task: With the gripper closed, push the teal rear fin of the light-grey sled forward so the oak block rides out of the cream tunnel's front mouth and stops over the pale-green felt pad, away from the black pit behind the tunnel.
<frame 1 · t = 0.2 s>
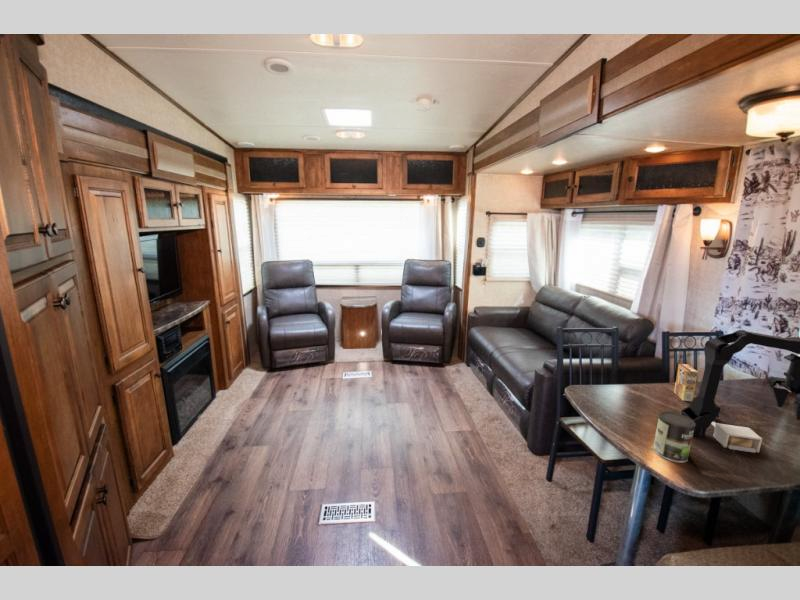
hand: (788, 413, 124), 14 cm above the table, fingers open, 9 cm apart
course: (734, 446, 128), on the table
candy box: (682, 397, 165), on the table
sled: (723, 428, 134), point 3 cm above the table, slide at 0.0 cm, touching block
block: (734, 443, 127), point 1 cm above the table, touching sled
coffee can: (669, 453, 124), on the table
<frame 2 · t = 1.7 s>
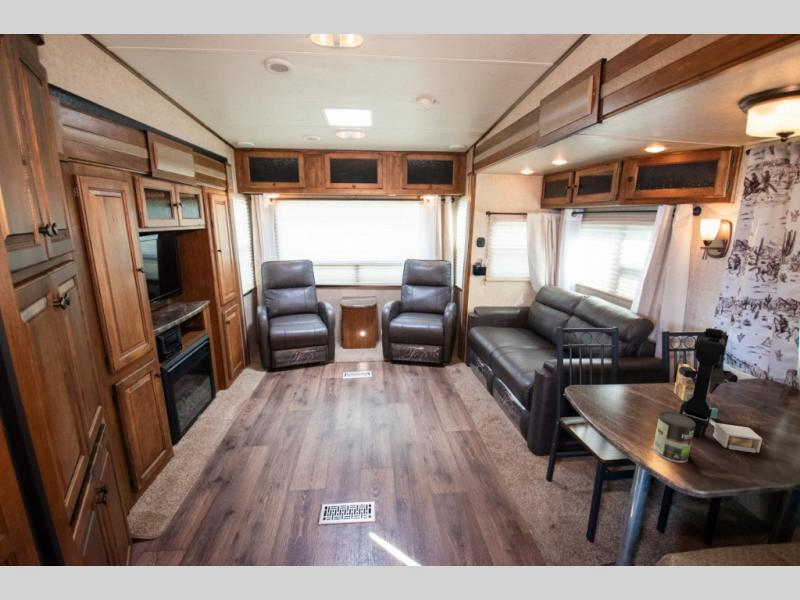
hand: (703, 392, 148), 10 cm above the table, fingers open, 5 cm apart
nothing on the table moved.
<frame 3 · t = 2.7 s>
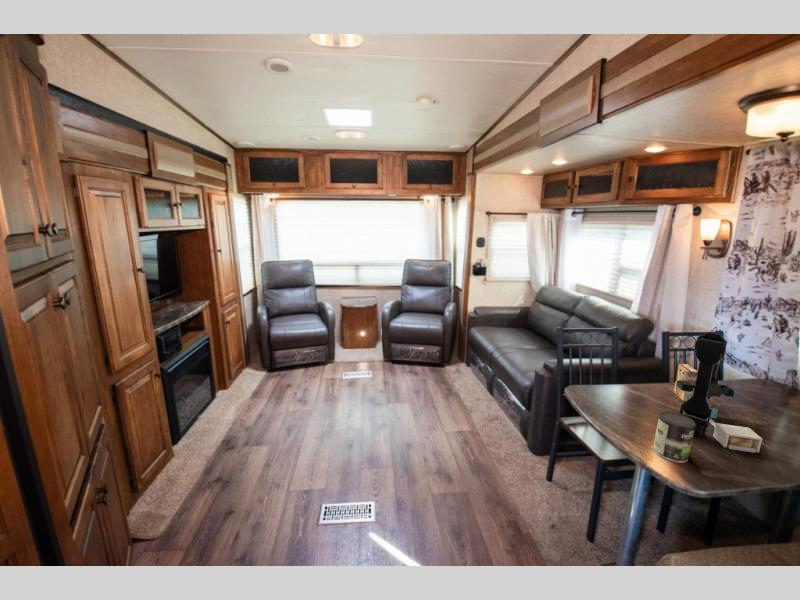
hand: (700, 405, 150), 4 cm above the table, fingers closed
nothing on the table moved.
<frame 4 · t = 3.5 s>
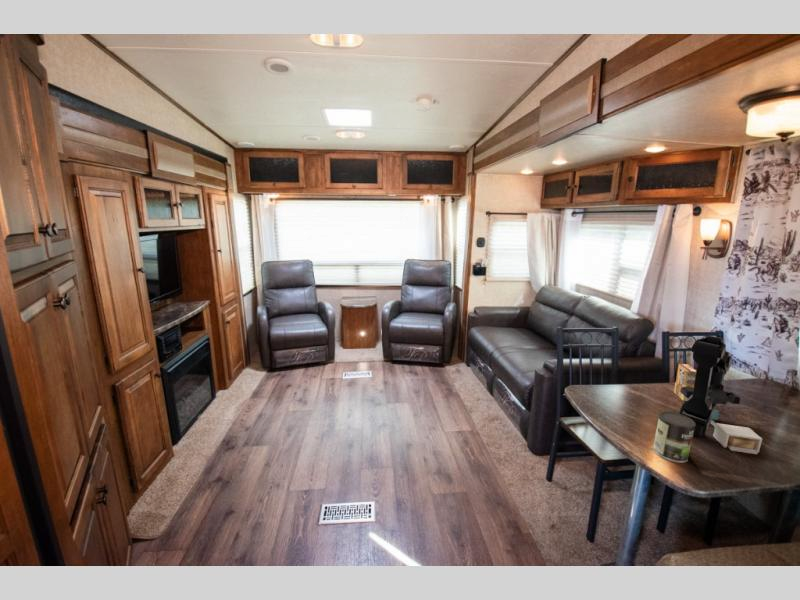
hand: (705, 413, 146), 2 cm above the table, fingers closed, pressing on sled
sled: (725, 429, 133), point 3 cm above the table, slide at 0.9 cm, touching block, gripper
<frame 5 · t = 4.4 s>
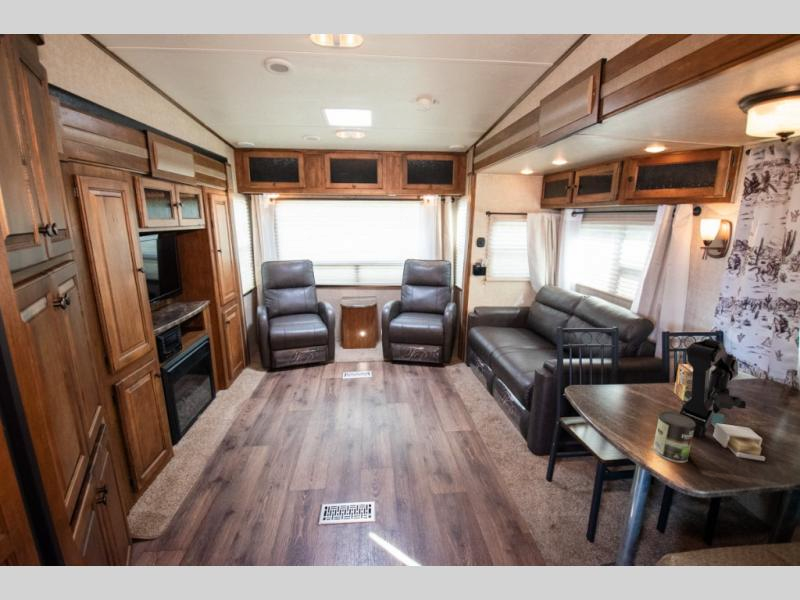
hand: (710, 417, 143), 2 cm above the table, fingers closed
sled: (730, 434, 130), point 3 cm above the table, slide at 4.6 cm, touching block, gripper
block: (742, 451, 123), point 1 cm above the table, touching sled
everything else where it was.
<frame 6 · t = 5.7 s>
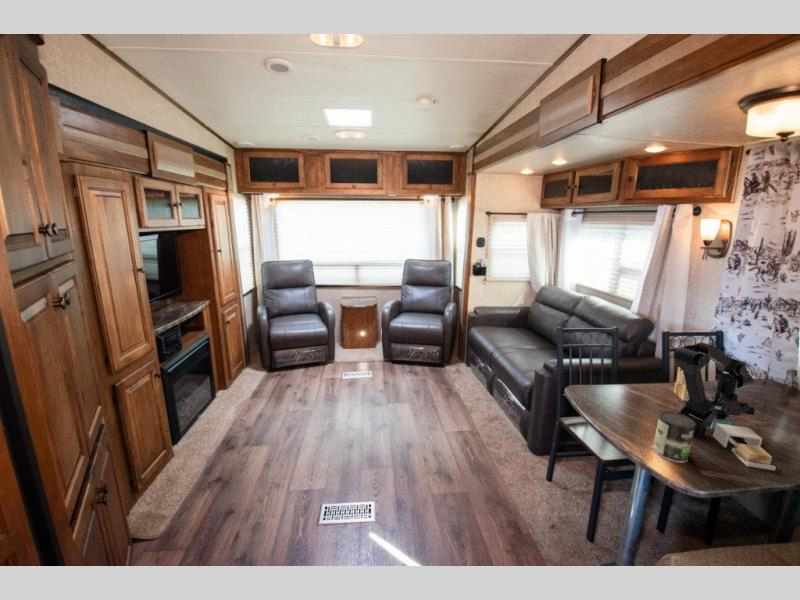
hand: (717, 424, 138), 2 cm above the table, fingers closed, pressing on sled
sled: (739, 442, 125), point 3 cm above the table, slide at 9.5 cm, touching block, gripper
block: (752, 460, 119), point 1 cm above the table, touching sled
everything else where it was.
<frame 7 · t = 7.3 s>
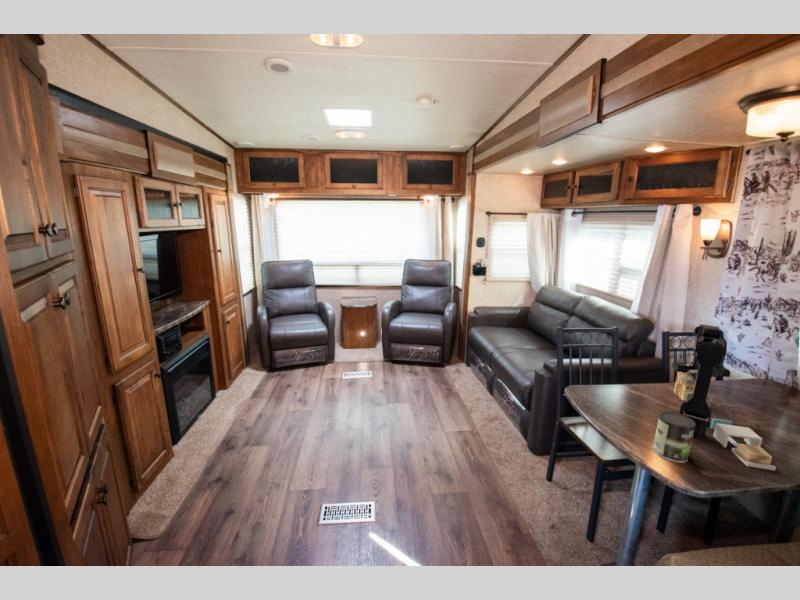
hand: (696, 387, 149), 12 cm above the table, fingers closed
sled: (739, 442, 125), point 3 cm above the table, slide at 9.5 cm, touching block
everything else where it was.
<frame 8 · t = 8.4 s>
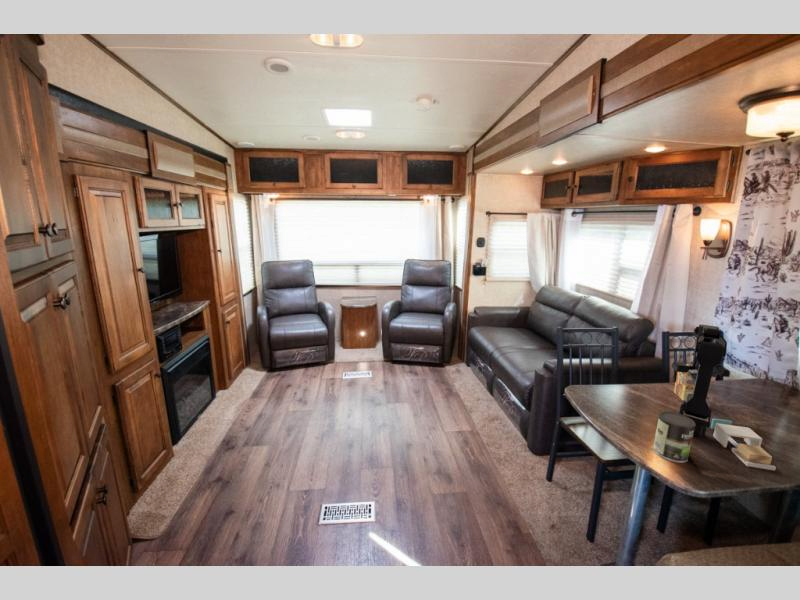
hand: (696, 387, 149), 12 cm above the table, fingers closed
nothing on the table moved.
at the end: sled slide at 9.5 cm; block inside the target area (0.5 cm from its centre), point 1.3 cm above the table; block tilted 0° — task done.
